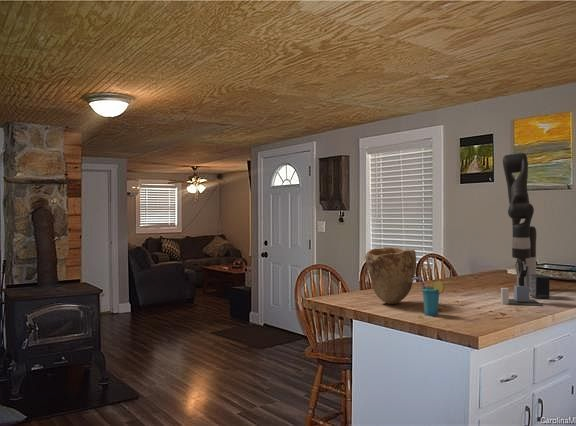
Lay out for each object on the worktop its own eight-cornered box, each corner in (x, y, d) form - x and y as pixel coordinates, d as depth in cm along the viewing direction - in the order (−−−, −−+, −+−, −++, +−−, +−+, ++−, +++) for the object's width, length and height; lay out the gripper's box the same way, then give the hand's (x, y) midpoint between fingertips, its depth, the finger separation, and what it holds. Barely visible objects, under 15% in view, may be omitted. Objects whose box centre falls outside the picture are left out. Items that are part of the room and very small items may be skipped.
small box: (550, 299, 236) (550, 277, 236) (535, 299, 238) (535, 276, 238) (543, 295, 247) (543, 274, 247) (529, 295, 248) (529, 274, 248)
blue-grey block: (514, 299, 232) (514, 285, 232) (526, 299, 231) (526, 285, 231) (516, 301, 227) (516, 286, 227) (529, 301, 226) (529, 286, 226)
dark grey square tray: (501, 299, 237) (501, 284, 237) (533, 300, 234) (533, 285, 234) (508, 305, 223) (508, 289, 223) (543, 306, 221) (542, 290, 221)
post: (501, 303, 228) (501, 287, 228) (507, 303, 228) (507, 287, 228) (502, 304, 226) (502, 288, 226) (508, 304, 225) (508, 288, 225)
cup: (408, 314, 207) (408, 277, 207) (416, 311, 213) (416, 275, 213) (442, 318, 199) (441, 280, 199) (449, 314, 205) (448, 277, 205)
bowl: (357, 301, 236) (356, 248, 236) (396, 297, 245) (396, 246, 245) (384, 310, 216) (383, 251, 216) (427, 305, 225) (426, 249, 224)
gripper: (508, 246, 236) (509, 283, 236) (515, 248, 223) (516, 287, 223) (526, 246, 235) (526, 283, 235) (534, 248, 222) (534, 288, 222)
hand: (521, 285), depth 229 cm, fingers closed
